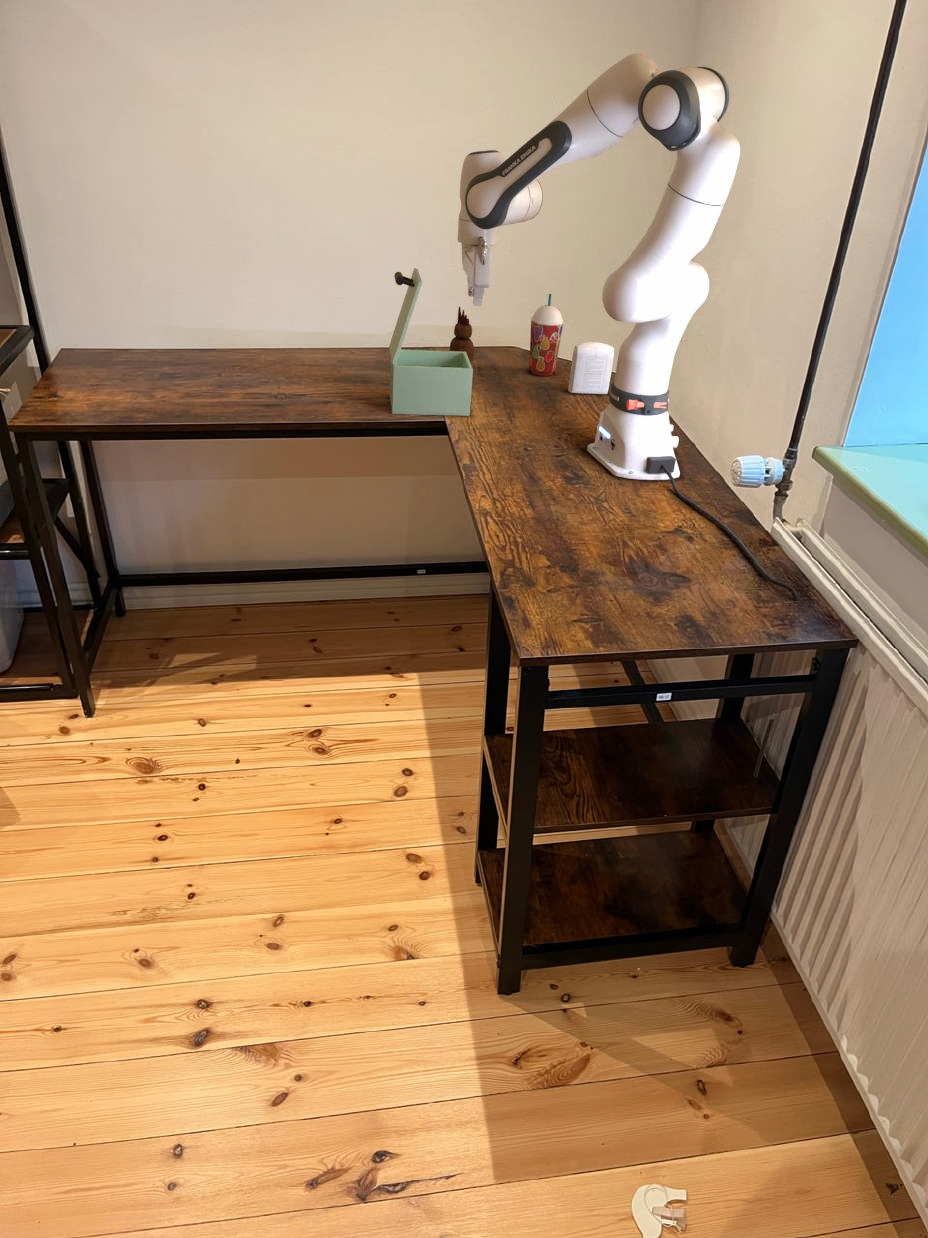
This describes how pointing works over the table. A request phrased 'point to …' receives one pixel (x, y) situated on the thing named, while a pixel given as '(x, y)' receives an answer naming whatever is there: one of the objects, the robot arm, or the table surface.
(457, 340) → the wooden figurine
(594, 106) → the robot arm
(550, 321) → the smoothie
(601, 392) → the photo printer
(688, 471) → the table surface
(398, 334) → the lid
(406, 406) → the storage box
